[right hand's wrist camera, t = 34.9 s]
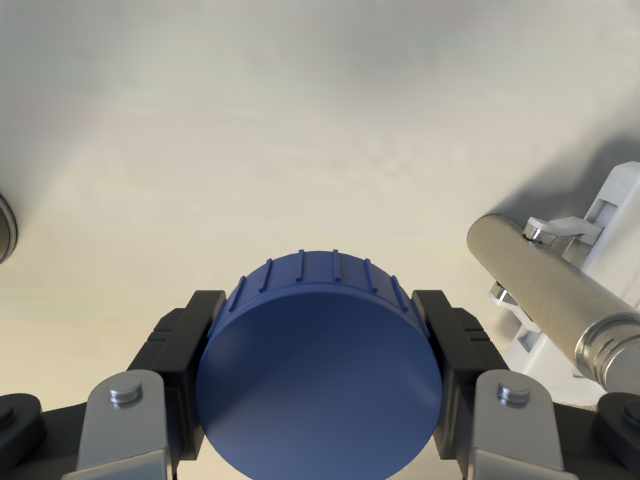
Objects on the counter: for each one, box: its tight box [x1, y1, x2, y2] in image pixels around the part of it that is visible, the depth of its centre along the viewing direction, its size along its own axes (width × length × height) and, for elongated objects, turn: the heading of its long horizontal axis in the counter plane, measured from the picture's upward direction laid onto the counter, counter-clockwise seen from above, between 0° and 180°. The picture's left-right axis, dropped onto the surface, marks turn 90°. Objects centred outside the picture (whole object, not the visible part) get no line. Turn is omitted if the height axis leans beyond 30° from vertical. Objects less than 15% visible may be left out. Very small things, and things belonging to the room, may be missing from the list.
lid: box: [195, 249, 442, 480], centre depth 10 cm, size 5×5×2 cm
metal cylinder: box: [467, 215, 640, 396], centre depth 31 cm, size 4×4×20 cm
